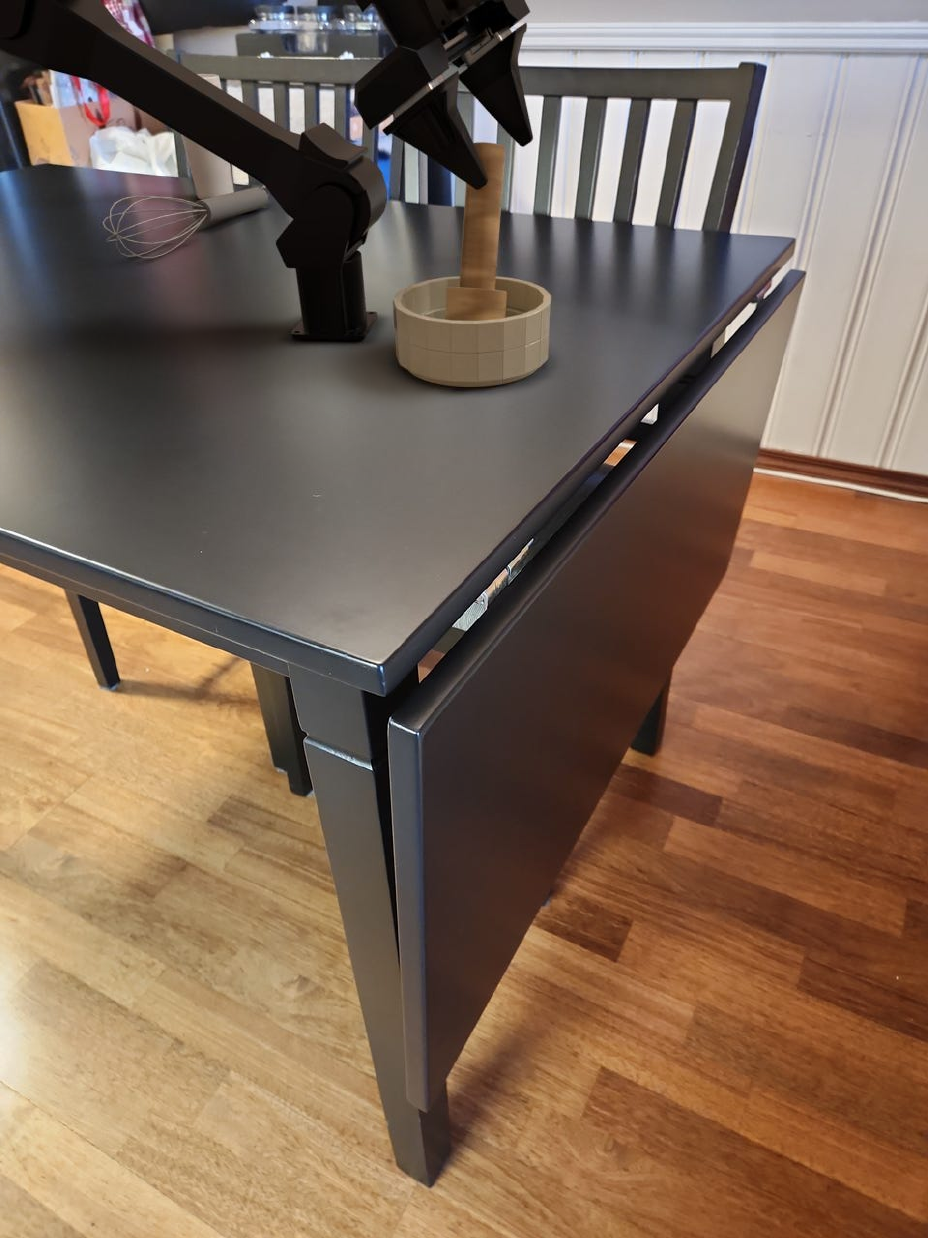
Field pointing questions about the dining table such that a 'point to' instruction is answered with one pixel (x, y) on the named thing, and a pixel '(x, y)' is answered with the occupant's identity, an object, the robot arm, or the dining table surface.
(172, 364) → the dining table surface
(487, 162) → the pestle
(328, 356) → the dining table surface
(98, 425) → the dining table surface
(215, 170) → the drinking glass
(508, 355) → the bowl
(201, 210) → the kitchen whisk
